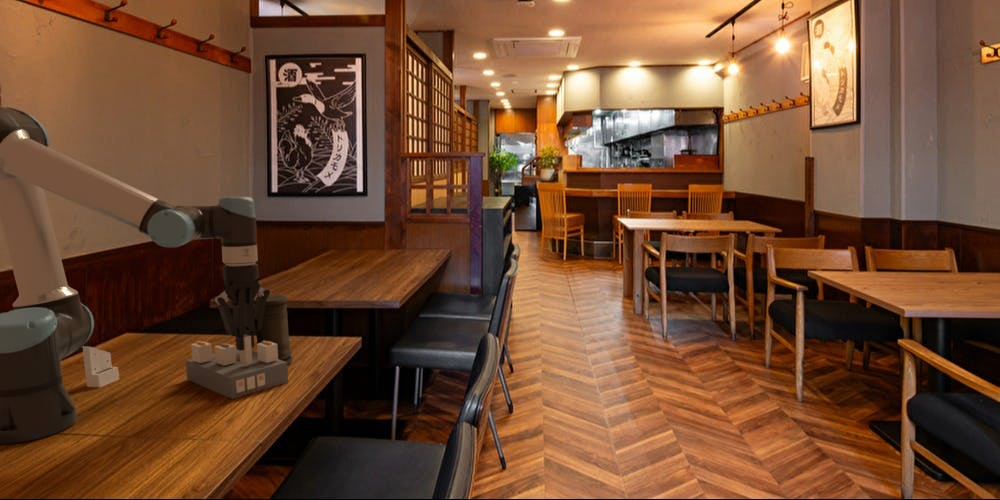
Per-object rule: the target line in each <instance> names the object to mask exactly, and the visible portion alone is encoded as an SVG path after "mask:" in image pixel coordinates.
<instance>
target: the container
mask: <svg viewBox="0 0 1000 500" xmlns="http://www.w3.org/2000/svg"><path fill="white" fill-rule="evenodd" d="M256 298H257V297H255V298H254V305H255V304H256ZM287 301H288V296H287V295H285V294H284V295H283V294H269V296H268V298H267V300H266V306H265V312H264V318H263V324H262V329H261V330H260V331H257V333H256V345H257V344H259V343H262V341H269V342H273V343H276V344H277V348H278V359H279V360H282V361H285V362H287V366H289V365H290V364H292V363H293V359H294V358H293V356H292V350H291V345H290V344H291V342H290V337H289V323H288V322H289V321H288V310H287V306H288V305H287V304H288V302H287Z"/></svg>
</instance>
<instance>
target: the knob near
mask: <svg viewBox="0 0 1000 500" xmlns="http://www.w3.org/2000/svg"><path fill="white" fill-rule="evenodd" d="M256 350H257V351H256V352H257V353H258V360H260V361H262V362H265V363H269V362H272V361H276V360H278V348H277V344H276V343H273V342H269V341H262V343H259V344H257V343H256Z"/></svg>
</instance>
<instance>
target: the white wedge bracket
mask: <svg viewBox="0 0 1000 500" xmlns="http://www.w3.org/2000/svg"><path fill="white" fill-rule="evenodd" d="M82 354H83V362H84V373H85V381H86V382H85V383H86V387H88V388H103V387H104V386H107V385H108V384H112V383H114V382H116V381H119V380H120V373H119V367H118V366H112V355H111V352H109V351H105V350H103V349H100V348H95V347H92V346H89V345H88V346H86V345H85V346H84V345H83V346H82Z"/></svg>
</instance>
